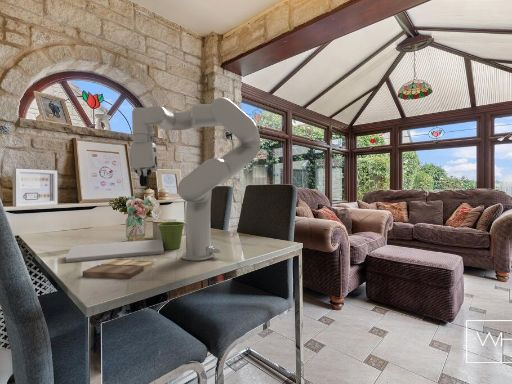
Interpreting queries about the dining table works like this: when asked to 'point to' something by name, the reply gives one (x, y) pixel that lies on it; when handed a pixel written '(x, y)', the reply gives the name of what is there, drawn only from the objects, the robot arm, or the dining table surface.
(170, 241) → the plant pot
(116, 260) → the plank
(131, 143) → the robot arm
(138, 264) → the plank
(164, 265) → the dining table surface
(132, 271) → the floor row
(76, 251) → the decorative molding
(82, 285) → the dining table surface
